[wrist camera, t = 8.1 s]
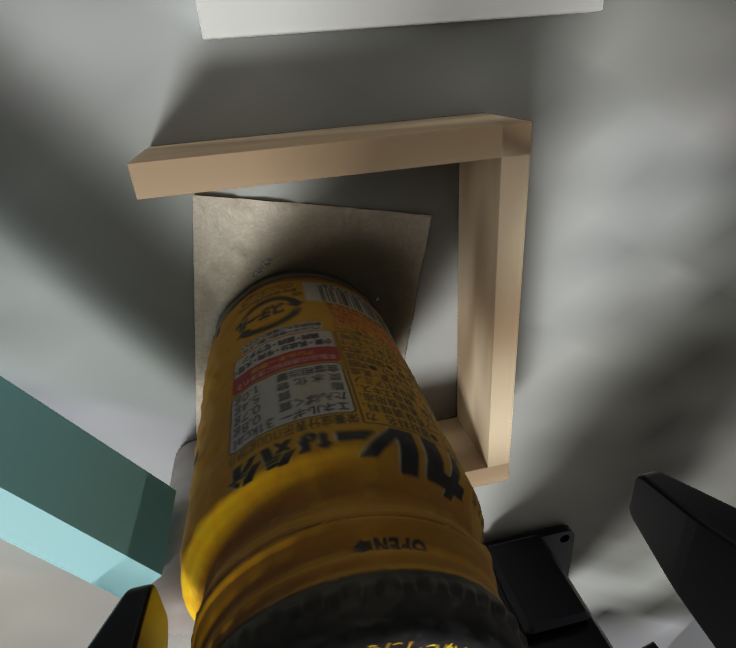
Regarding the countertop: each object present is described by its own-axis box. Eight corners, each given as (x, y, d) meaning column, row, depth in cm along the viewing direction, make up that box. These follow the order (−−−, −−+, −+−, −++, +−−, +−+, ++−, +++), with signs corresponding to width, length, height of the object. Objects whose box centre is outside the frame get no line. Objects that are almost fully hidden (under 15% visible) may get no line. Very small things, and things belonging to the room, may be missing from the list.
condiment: (196, 430, 18) (129, 905, 8) (193, 193, 15) (67, 481, 4) (391, 426, 20) (547, 810, 10) (428, 212, 17) (736, 452, 6)
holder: (475, 429, 21) (551, 547, 16) (182, 487, 19) (158, 643, 14) (484, 112, 16) (605, 133, 10) (76, 154, 14) (-29, 204, 9)
